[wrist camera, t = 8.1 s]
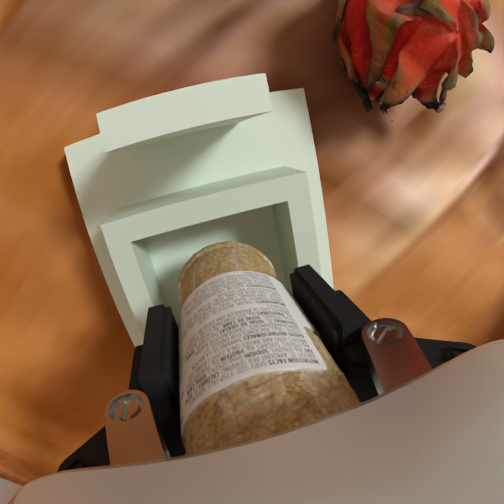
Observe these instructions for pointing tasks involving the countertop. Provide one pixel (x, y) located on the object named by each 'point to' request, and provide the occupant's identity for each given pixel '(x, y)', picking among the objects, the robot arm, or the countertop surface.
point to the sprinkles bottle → (248, 353)
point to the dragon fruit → (409, 47)
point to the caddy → (199, 187)
